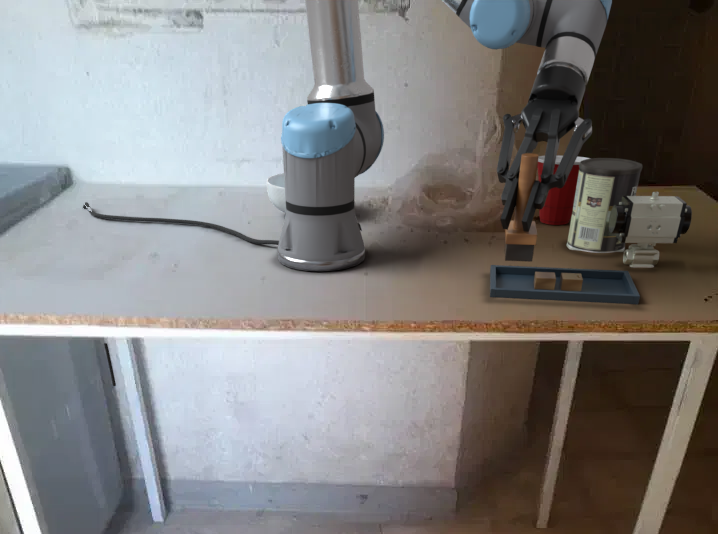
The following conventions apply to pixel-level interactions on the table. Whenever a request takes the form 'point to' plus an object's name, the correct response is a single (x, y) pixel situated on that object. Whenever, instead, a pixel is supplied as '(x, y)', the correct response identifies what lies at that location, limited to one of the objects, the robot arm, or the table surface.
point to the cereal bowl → (277, 191)
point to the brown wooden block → (544, 280)
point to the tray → (594, 287)
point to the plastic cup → (559, 195)
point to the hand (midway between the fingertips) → (514, 225)
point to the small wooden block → (571, 281)
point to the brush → (516, 239)
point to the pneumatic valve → (648, 225)
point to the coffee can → (600, 202)
